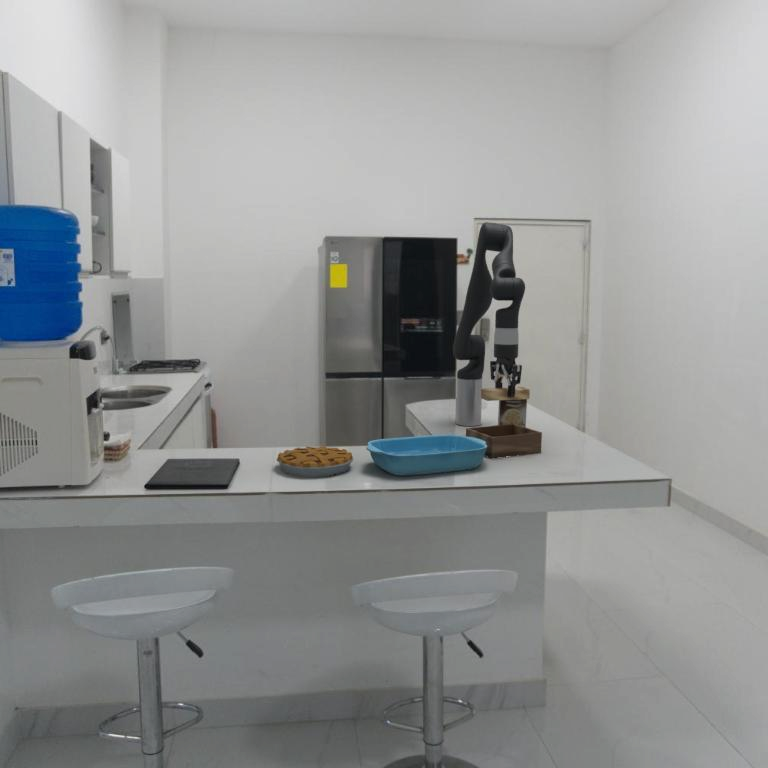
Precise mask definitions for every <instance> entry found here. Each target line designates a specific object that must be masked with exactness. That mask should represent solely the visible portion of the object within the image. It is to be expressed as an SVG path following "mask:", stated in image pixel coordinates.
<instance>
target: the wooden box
mask: <svg viewBox="0 0 768 768" xmlns="http://www.w3.org/2000/svg"><path fill="white" fill-rule="evenodd" d="M542 434H543V433H542V431H538V430H536V429H533V428H528V427H527V426H526V427H523V426H519V425H516V424H505V425H498V424H497V425H488V426H487V425H486V426H475V427H468V428H465V436H467V437H473V438H478V439H481V440H483V441H485V442H486V445H487V449H486V452H485V455H486V456H488V457H487V458H489V457H490V458H489V459H491V458H495V459H499V458H498V457H503V458H507V457H506V456H511V457H518V456H517V455H519V456H525V455H526V454H527V455H533V454H534V453H535V454H542V439H543V438H542V437H543V435H542ZM535 454H534V455H535ZM486 456H485V457H486Z"/></svg>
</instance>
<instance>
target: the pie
mask: <svg viewBox="0 0 768 768" xmlns="http://www.w3.org/2000/svg"><path fill="white" fill-rule="evenodd" d="M276 462H278V464H279V465H280V467H281V469H282V471H284V473H286V474H288V473H289V474H288V475H291V476H294V475H295V477H300V476H303V477H302V478H320V476H322V477H329V476H328V475H331V476H334V474H336V475H340V474H343V473H345V472H347V471H348V470H349V468H350V465H351V463H352V462H354V456H353V453H352V452H350V451H349V452H348V450H347V449H345V448H343V449H339V448H338V447H327V446H324V445H323V446H318V447H317V446H316V447H315V446H313V447H312V446H306V447H303V448H301V447H295V448H294V449H291V450H290V449H289V450H288V449H286V450H284V451H283V452H279V453H278V456H277V457H276ZM342 472H343V473H342ZM339 473H340V474H339Z"/></svg>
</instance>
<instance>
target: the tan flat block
mask: <svg viewBox="0 0 768 768" xmlns="http://www.w3.org/2000/svg"><path fill="white" fill-rule="evenodd" d="M530 391H531V390H530V389H529V388H526V387H524V386H515V397H511V398H510V397H508V387H502V388H495V387H491V388H490V387H487V388H485V387H484V388H483V387H482V389H481V398H482V399H483V401H484V400H485V401H487V402H492V401H494V402H496V401H499V400H520V399H527V400H529V399H530V393H531V392H530Z"/></svg>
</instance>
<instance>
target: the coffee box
mask: <svg viewBox="0 0 768 768" xmlns="http://www.w3.org/2000/svg"><path fill="white" fill-rule="evenodd" d="M527 406H528V399H520V400H498V412H497V414H498V417H497V418H498V419H497V425H505V424H516V425H519V426H523V427H526V428H527V424H526V423H527V409H528V408H527Z"/></svg>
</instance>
